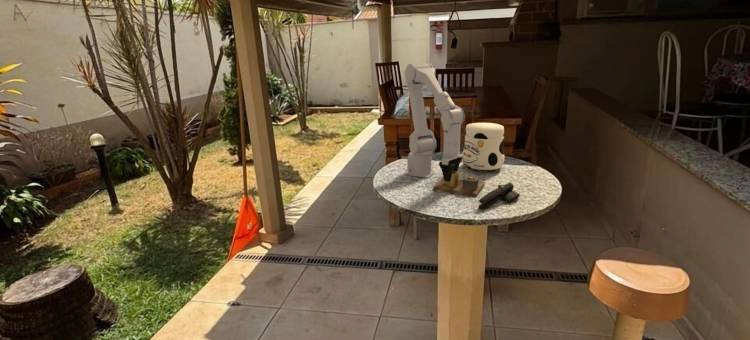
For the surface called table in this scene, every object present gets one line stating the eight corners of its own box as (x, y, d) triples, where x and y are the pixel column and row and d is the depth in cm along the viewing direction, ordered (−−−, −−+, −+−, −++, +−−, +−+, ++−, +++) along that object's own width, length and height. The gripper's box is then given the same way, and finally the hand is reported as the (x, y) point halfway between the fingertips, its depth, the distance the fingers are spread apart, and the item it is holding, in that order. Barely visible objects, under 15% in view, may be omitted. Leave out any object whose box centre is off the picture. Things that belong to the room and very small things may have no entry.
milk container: (455, 170, 162) (457, 128, 156) (469, 159, 176) (471, 120, 170) (497, 177, 153) (500, 132, 148) (507, 165, 167) (511, 124, 161)
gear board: (433, 189, 142) (433, 176, 141) (443, 180, 151) (443, 167, 150) (476, 196, 135) (477, 182, 133) (484, 186, 144) (485, 173, 142)
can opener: (505, 194, 137) (506, 179, 135) (522, 200, 132) (523, 184, 130) (470, 206, 128) (471, 190, 126) (487, 213, 122) (488, 197, 121)
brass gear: (455, 188, 140) (455, 175, 138) (442, 186, 142) (442, 173, 141) (460, 183, 144) (460, 171, 142) (447, 181, 146) (447, 169, 145)
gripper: (456, 148, 130) (455, 185, 135) (468, 138, 142) (466, 173, 147) (436, 146, 133) (435, 183, 138) (449, 136, 146) (448, 171, 150)
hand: (450, 177), depth 142 cm, fingers open, 7 cm apart
